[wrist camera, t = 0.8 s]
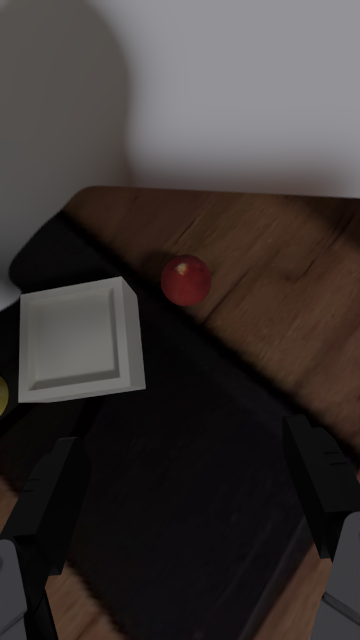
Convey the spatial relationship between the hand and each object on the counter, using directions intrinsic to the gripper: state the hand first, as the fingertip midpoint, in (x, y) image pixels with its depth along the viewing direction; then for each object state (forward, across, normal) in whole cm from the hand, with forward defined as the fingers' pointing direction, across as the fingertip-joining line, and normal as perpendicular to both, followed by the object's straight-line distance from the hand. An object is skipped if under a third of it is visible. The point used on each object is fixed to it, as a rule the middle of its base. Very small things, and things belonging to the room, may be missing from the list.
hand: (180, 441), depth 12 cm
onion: (+28, 0, +4) cm, 28 cm away
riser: (+24, +12, +9) cm, 29 cm away
